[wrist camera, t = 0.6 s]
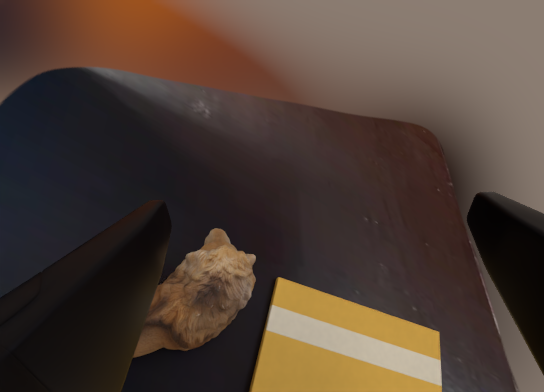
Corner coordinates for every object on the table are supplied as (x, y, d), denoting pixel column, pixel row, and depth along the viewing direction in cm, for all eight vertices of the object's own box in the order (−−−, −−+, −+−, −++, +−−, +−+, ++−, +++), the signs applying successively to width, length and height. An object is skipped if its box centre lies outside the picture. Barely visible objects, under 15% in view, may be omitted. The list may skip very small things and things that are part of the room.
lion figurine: (219, 257, 24) (242, 204, 16) (245, 327, 22) (285, 303, 14) (-30, 344, 17) (-181, 323, 10) (-21, 451, 16) (-198, 526, 8)
